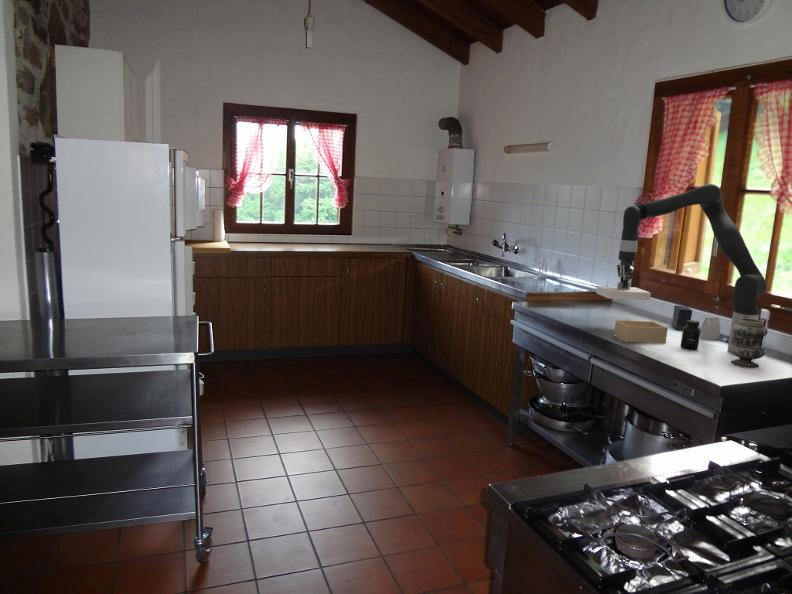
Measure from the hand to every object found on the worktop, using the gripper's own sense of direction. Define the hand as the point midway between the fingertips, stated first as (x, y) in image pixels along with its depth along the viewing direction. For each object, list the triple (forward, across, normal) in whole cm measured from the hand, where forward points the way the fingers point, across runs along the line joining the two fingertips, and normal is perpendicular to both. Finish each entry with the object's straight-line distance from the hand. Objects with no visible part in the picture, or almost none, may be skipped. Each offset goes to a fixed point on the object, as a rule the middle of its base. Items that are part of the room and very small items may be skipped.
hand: (623, 287), depth 289 cm
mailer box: (+21, -16, -2) cm, 26 cm away
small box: (+21, +8, -36) cm, 42 cm away
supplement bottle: (+21, -30, -17) cm, 40 cm away
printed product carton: (+21, -12, -38) cm, 45 cm away
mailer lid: (+4, 0, 0) cm, 4 cm away
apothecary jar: (+21, -53, -26) cm, 63 cm away
